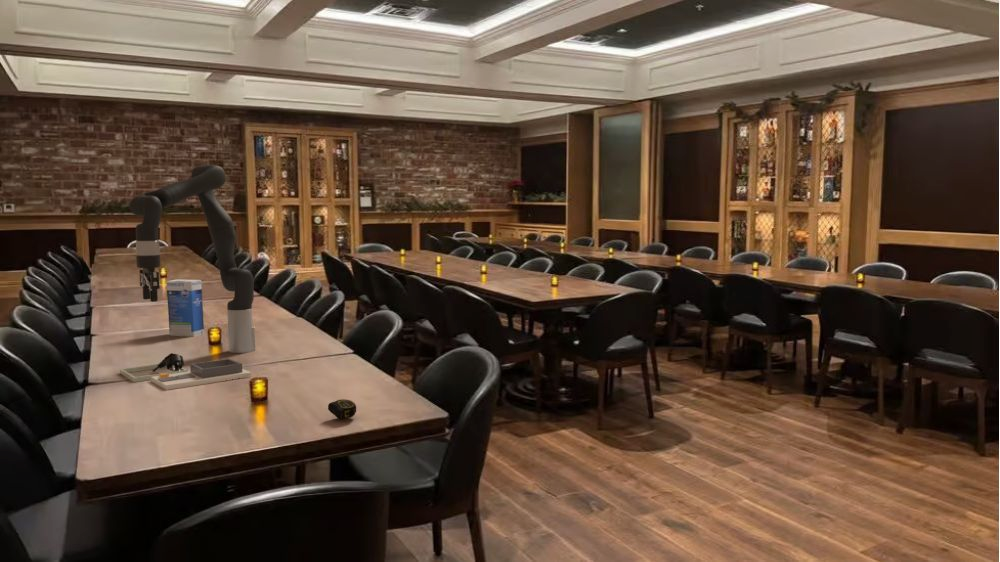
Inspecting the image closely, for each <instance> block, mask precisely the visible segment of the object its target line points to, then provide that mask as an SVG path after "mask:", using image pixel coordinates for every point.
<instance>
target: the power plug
mask: <svg viewBox="0 0 1000 562" xmlns="http://www.w3.org/2000/svg"><path fill="white" fill-rule="evenodd" d="M183 357H184V356H183V355H180V354H178V353H172V352H171V353H169V354H168V355H167V356H165V357H164V359H162V360H161V361H160V362H159V363H157V364H158V367H157V368H155V369H152V372H156V371H157V370H159V369H163V367H164V368H167V370H170V371H171V372H175V371H180V369H181V368H182V367H183V368H184V366H185V361H184V358H183ZM166 365H167V367H165V366H166Z"/></svg>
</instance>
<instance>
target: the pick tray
mask: <svg viewBox="0 0 1000 562" xmlns="http://www.w3.org/2000/svg"><path fill="white" fill-rule="evenodd" d="M158 364H159V363H156V364H155V363H154V364H147V365H141V366H140V365H139V366H133V367H128V368H127V367H125V368H120V369H119V374H120V375H122V376H123V377H124V378H127V379H128V380H129V381H131V382H133V383H138V382H145V381H151V377H153V376H159V374H163V373H164V372H161V373H154V374H148V375H141V376H135V375H133V374H132V373H135V372H142V371H149V370H154V369H155V368H157V367H158ZM163 368H167V365H166V366H165V367H163ZM163 368H162V369H163ZM188 371H189V369H187V368H185V367H184V366H183V367H182V368H181V369H180V371H178V370H175V371H169V372H168V371H167V373H168V374H174V373H181V372H188Z"/></svg>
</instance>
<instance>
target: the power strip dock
mask: <svg viewBox="0 0 1000 562" xmlns="http://www.w3.org/2000/svg"><path fill="white" fill-rule="evenodd" d="M189 367H190V369H189V370H188V372H181V373H174V374H168V372H162V373H163V374H161V373H158V374H159V376H153V377H151V380H150V382H152V383H153V384H155V385H156V386H158V387H160V388H162V389H164V390H166V391H169V390H175V389H181V388H187V387H194V386H202V385H206V384H208V385H209V384H213V383H221V382H226V380H227V381H232V379H233V380H239V379H238V378H240V379H244V378H245V379H246V378H249V377H252V372H251V371H249V370H247V369H244V368H243V363H241V362H239V361H237V360H234V359H231V358H224V359H217V360H215V359H214V360H209V361H201V362H194V363H190V364H189Z"/></svg>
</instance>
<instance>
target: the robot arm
mask: <svg viewBox="0 0 1000 562" xmlns="http://www.w3.org/2000/svg"><path fill="white" fill-rule="evenodd" d="M190 175H191V177H190V178H186V179H183V180H179V181H175V182H172V183H169V184H167V185H165V186H162V187H160V188H158V189H156V190H152V191H148V192H144V193H141V194H138V195H136V196H134V197H133V198H131V200H130V201H129V205H128V207H129V211H130V212H131V213H132V214H133V215H135V216H138V217H143V220H142V222H141V223H139V224H137V225H136V226H135V259H136V261H135V263H136V268H137V269H139V286H140V287H141V289H142V298H143V300H145V301H146V300H149V301H150V302H151V303H152V302H153V303H154V302H156V303H157V302H158V299H159V298H158V291H159V290H160V287H161V286H160V275H159V274H160V273H159V271H156V269H157V268H158V269H159V268H160V267H161V264H162V263H161V247H160V239H159V226H160V222H161V218H162V213H163V209H166V208H169V207H171V206H174V205H177V204H178V203H180V202H183V201H184V200H186V199H188V198H191V197H193V196H196V195H197V197H198V200H199V202H200V204H201V208H202V211H203V213H204V218H205V221H206V224H207V228H208V231H209V234H210V238H211V241H212V244H213V248H214V252H215V254H216V259H217V263H218V269H219V274H220V278H221V279H220V280H221V283H222V286H223V288H224V289H225V290H227V291H228V292H234V297H233V299H232V300H230V301H228V302H227V305H226V306H227V308H226V309H227V328H228V329H227V330H228V332H227V333H228V335H227V336H228V352H229V353H230V354H231V353H232V354H243V353H244V354H245V353H246V354H247V353H251V352H253V351H254V350H255V351H256V333H255V332H256V330H255V326H253V310H252V309H253V303H254V299H255V297H254V296H255V294H254V293H255V290H254V289H255V282H254V281H255V280H254V275H253V273H252V272H251V271H250V270H249V269H245V268H238V267H237V264H236V260H235V256H234V252H235V247H236V244H237V243H236V242H237V234H236V229H235V225H234V222H233V219H232V217H231V216H230V214H229V213H228V212H227V211H226V210H225V208H224V207H223V206H222V205H221V203H220V202H219V201H218V200H217V197H216V195H215V190H218V189H220V188H222V187H223V186H224V185H225V183H226V180H227V178H226V177H227V176H226V172H225V170H224V168H223V167H221V166H220V165H217V164H216V165H215V164H204V165H203V164H202V165H197V166H195V167H194V168H193V169H192V171H191V174H190Z"/></svg>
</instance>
